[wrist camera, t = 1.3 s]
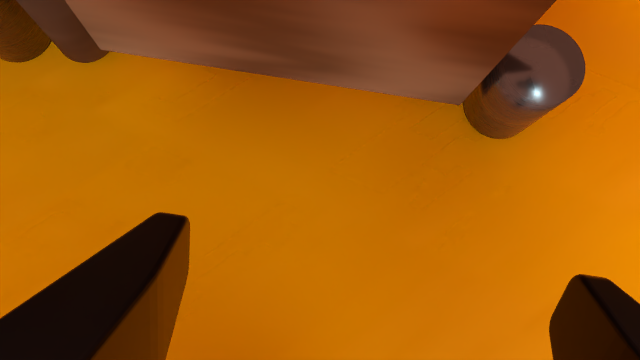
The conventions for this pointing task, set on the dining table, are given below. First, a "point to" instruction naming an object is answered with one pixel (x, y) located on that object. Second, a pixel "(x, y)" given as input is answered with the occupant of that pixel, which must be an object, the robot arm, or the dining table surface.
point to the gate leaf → (305, 38)
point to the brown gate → (480, 106)
